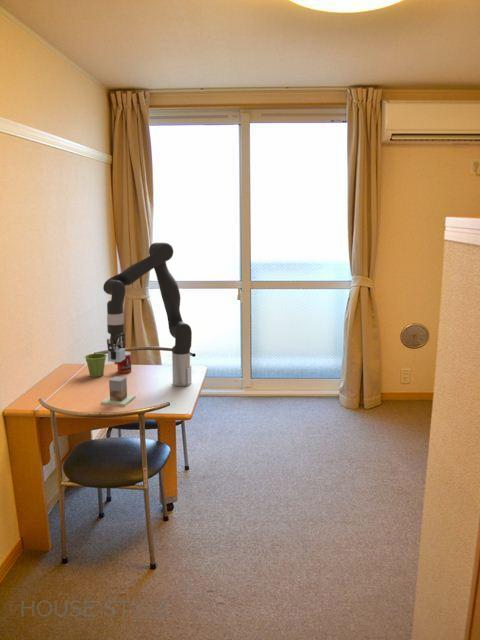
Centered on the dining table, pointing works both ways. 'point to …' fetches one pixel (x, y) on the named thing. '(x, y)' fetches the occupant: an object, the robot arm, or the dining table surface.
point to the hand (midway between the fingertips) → (116, 357)
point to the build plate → (121, 403)
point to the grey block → (117, 383)
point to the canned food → (125, 364)
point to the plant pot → (96, 364)
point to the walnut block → (118, 395)
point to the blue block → (117, 355)
